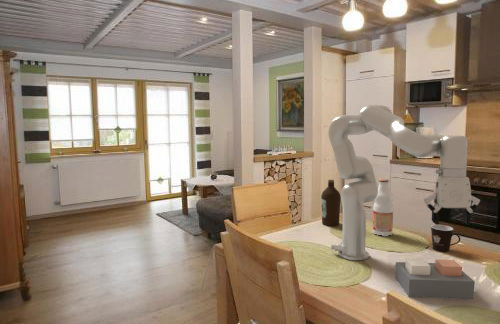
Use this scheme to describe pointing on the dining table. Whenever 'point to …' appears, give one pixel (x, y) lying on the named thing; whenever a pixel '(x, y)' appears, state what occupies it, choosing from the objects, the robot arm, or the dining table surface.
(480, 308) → the dining table surface
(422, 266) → the cream key
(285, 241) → the dining table surface
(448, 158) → the robot arm
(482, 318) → the dining table surface
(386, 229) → the fruit juice
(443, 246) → the coffee mug
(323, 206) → the olive oil
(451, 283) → the grey button box
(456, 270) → the terracotta key
